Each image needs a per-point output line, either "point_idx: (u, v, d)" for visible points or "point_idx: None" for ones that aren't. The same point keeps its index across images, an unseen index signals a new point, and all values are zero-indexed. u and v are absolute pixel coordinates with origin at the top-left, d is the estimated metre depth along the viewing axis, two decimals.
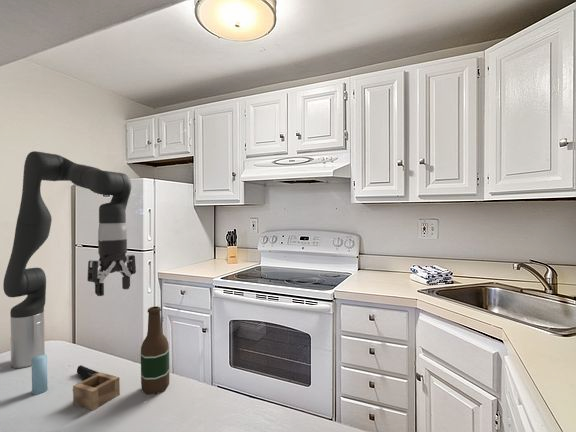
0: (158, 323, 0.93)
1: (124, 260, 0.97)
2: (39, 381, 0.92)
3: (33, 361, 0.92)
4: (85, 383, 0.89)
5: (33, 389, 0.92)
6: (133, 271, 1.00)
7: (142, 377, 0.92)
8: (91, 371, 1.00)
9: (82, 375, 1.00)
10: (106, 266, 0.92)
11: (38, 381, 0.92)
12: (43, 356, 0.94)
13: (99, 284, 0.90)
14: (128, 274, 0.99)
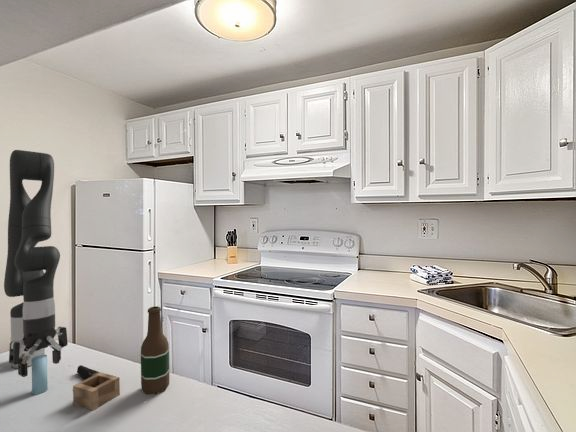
0: (158, 323, 0.93)
1: (53, 334, 0.96)
2: (40, 381, 0.92)
3: (33, 361, 0.92)
4: (85, 383, 0.89)
5: (33, 389, 0.92)
6: (64, 344, 0.99)
7: (142, 377, 0.92)
8: (91, 371, 1.00)
9: (82, 375, 1.00)
10: (30, 345, 0.90)
11: (38, 381, 0.92)
12: (43, 356, 0.94)
13: (22, 365, 0.89)
14: (58, 348, 0.97)
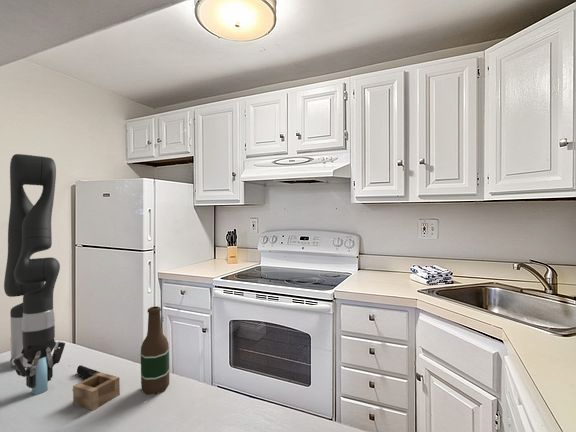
0: (158, 323, 0.93)
1: (52, 346, 0.96)
2: (40, 381, 0.92)
3: None
4: (85, 383, 0.89)
5: (33, 389, 0.92)
6: (56, 361, 0.97)
7: (142, 377, 0.92)
8: (92, 371, 1.00)
9: (82, 375, 1.01)
10: (31, 358, 0.91)
11: (38, 381, 0.92)
12: None
13: (30, 377, 0.91)
14: (49, 365, 0.95)
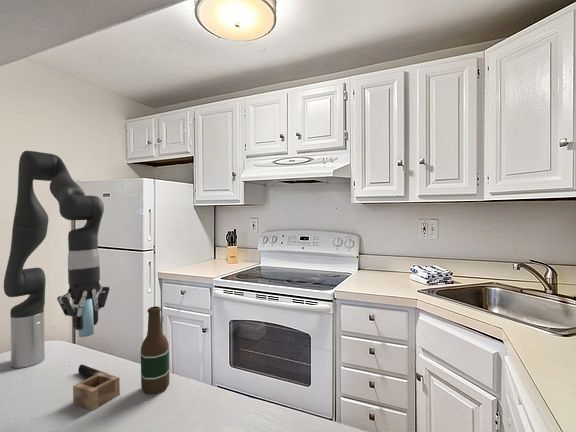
0: (158, 323, 0.93)
1: (97, 288, 0.91)
2: (87, 323, 0.88)
3: None
4: (85, 383, 0.89)
5: (80, 331, 0.87)
6: (101, 304, 0.92)
7: (142, 377, 0.92)
8: (93, 370, 1.01)
9: (84, 374, 1.01)
10: (78, 298, 0.86)
11: (85, 323, 0.88)
12: None
13: (77, 318, 0.86)
14: (95, 308, 0.91)
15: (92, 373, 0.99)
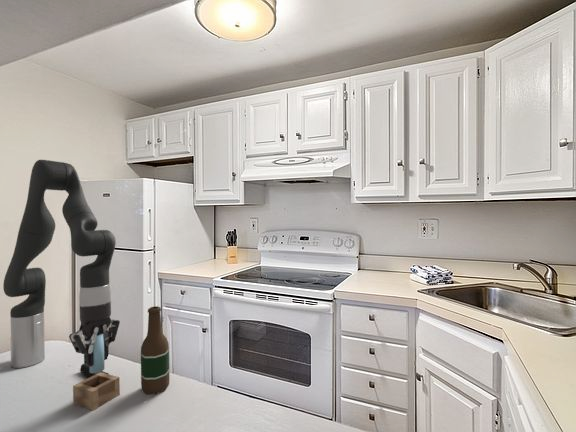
0: (158, 323, 0.93)
1: (108, 323, 0.91)
2: (98, 359, 0.88)
3: None
4: (85, 383, 0.89)
5: (91, 367, 0.87)
6: (112, 339, 0.92)
7: (142, 377, 0.92)
8: None
9: (85, 373, 1.01)
10: (89, 335, 0.86)
11: (96, 359, 0.87)
12: None
13: (88, 354, 0.86)
14: (106, 343, 0.90)
15: (93, 373, 1.00)
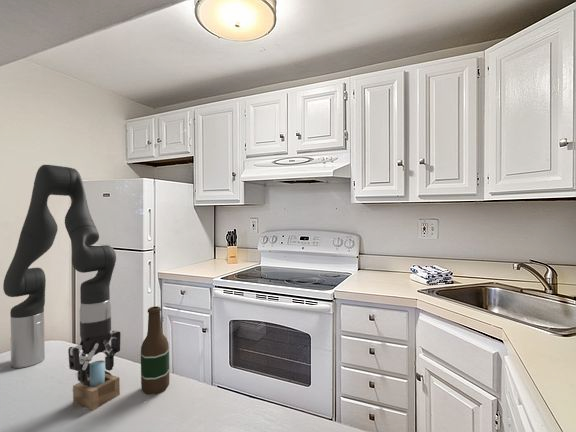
0: (158, 323, 0.93)
1: (108, 338, 0.91)
2: None
3: (92, 367, 0.87)
4: (85, 383, 0.89)
5: None
6: (117, 349, 0.94)
7: (142, 377, 0.92)
8: None
9: (88, 372, 1.02)
10: (88, 350, 0.86)
11: None
12: (101, 362, 0.90)
13: (82, 371, 0.85)
14: (111, 354, 0.92)
15: None
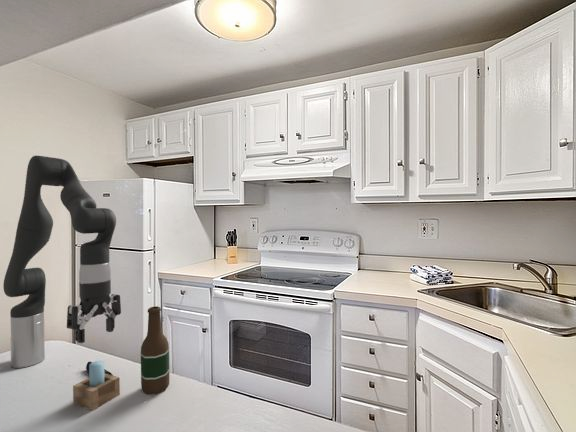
0: (158, 323, 0.93)
1: (108, 301, 0.91)
2: None
3: (91, 368, 0.87)
4: (85, 383, 0.89)
5: None
6: (118, 312, 0.94)
7: (142, 377, 0.92)
8: None
9: None
10: (87, 310, 0.86)
11: None
12: (100, 362, 0.90)
13: (79, 331, 0.84)
14: (112, 316, 0.92)
15: None
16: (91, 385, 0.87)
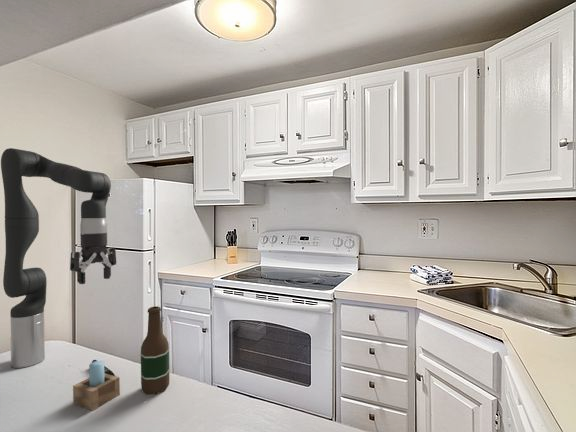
0: (158, 323, 0.93)
1: (105, 252, 1.07)
2: None
3: (91, 368, 0.87)
4: (85, 383, 0.89)
5: None
6: (114, 262, 1.10)
7: (142, 377, 0.92)
8: None
9: None
10: (87, 257, 1.01)
11: None
12: (100, 362, 0.90)
13: (81, 273, 1.00)
14: (109, 265, 1.08)
15: None
16: (91, 385, 0.87)
